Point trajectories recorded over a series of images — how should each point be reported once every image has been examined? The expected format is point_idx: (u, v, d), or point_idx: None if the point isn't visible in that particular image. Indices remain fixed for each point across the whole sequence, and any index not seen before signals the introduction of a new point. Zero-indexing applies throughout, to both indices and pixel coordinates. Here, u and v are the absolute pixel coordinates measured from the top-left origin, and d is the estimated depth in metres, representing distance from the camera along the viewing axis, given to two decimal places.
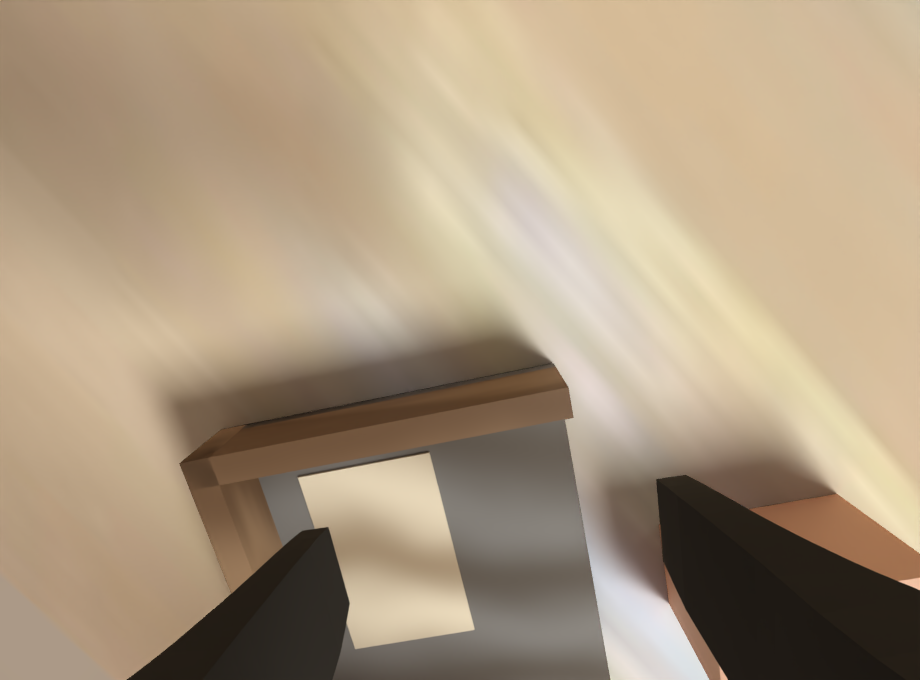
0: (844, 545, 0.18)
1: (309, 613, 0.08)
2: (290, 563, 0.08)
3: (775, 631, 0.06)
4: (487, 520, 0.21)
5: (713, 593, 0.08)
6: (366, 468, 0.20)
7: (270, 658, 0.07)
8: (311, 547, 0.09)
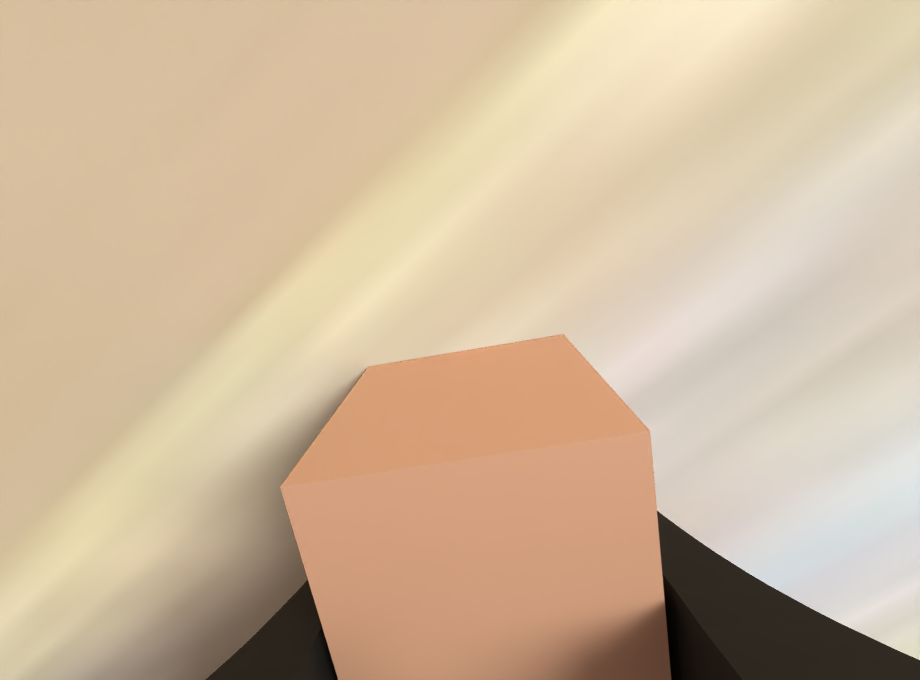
0: None
1: None
2: None
3: (677, 643, 0.06)
4: None
5: None
6: None
7: None
8: None
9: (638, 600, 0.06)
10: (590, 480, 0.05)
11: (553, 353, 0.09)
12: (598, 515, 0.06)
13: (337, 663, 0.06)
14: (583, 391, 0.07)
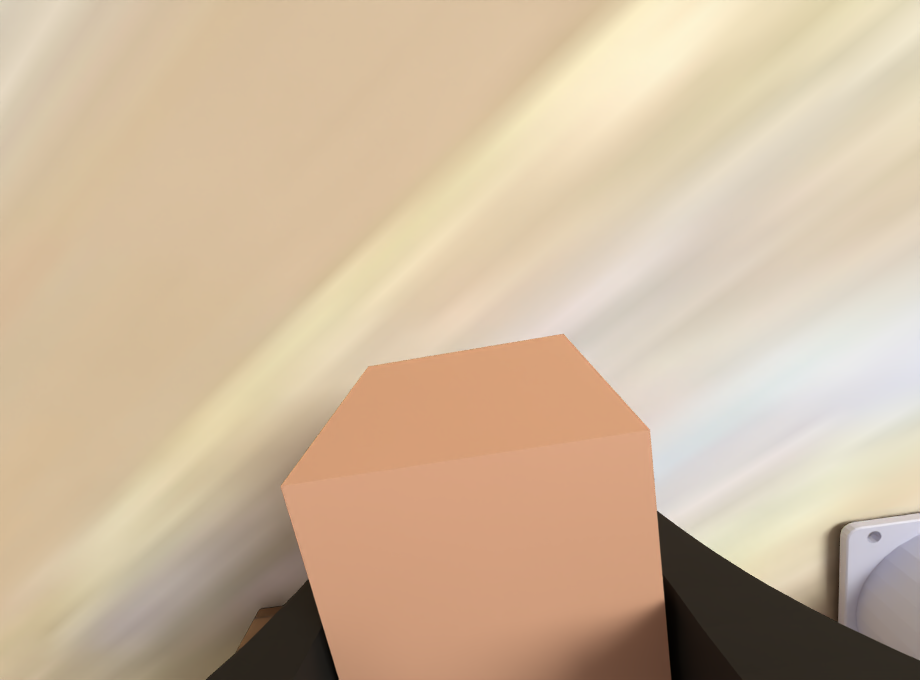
0: None
1: None
2: None
3: (678, 643, 0.06)
4: None
5: None
6: None
7: None
8: None
9: (638, 599, 0.06)
10: (589, 479, 0.05)
11: (553, 352, 0.09)
12: (599, 514, 0.06)
13: (338, 662, 0.06)
14: (583, 390, 0.07)
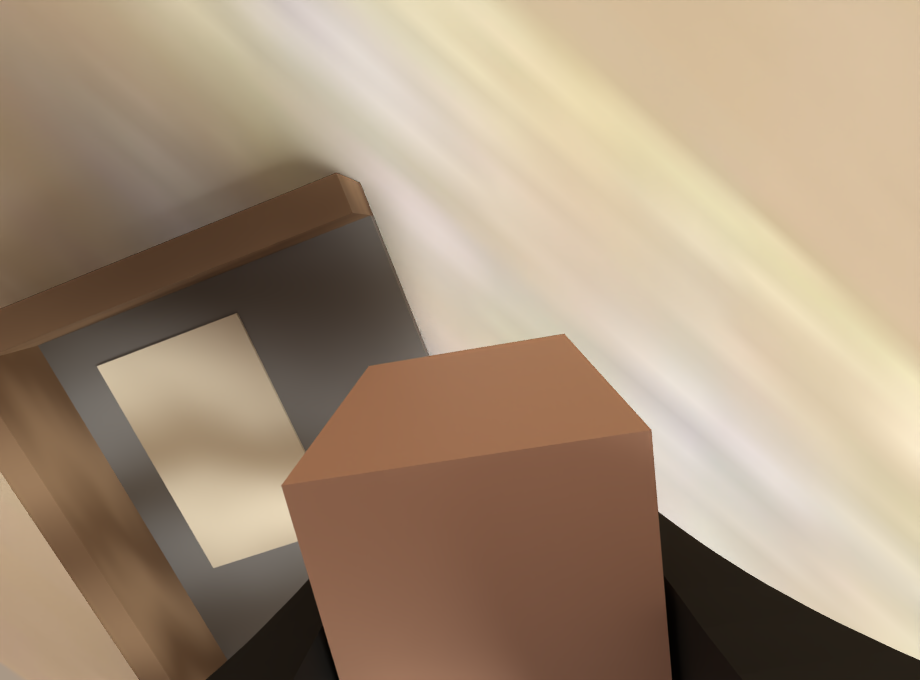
0: None
1: None
2: None
3: (677, 643, 0.06)
4: (324, 389, 0.17)
5: None
6: (170, 343, 0.17)
7: None
8: None
9: (639, 599, 0.06)
10: (591, 480, 0.05)
11: (554, 352, 0.09)
12: (600, 514, 0.06)
13: (338, 661, 0.06)
14: (584, 390, 0.07)
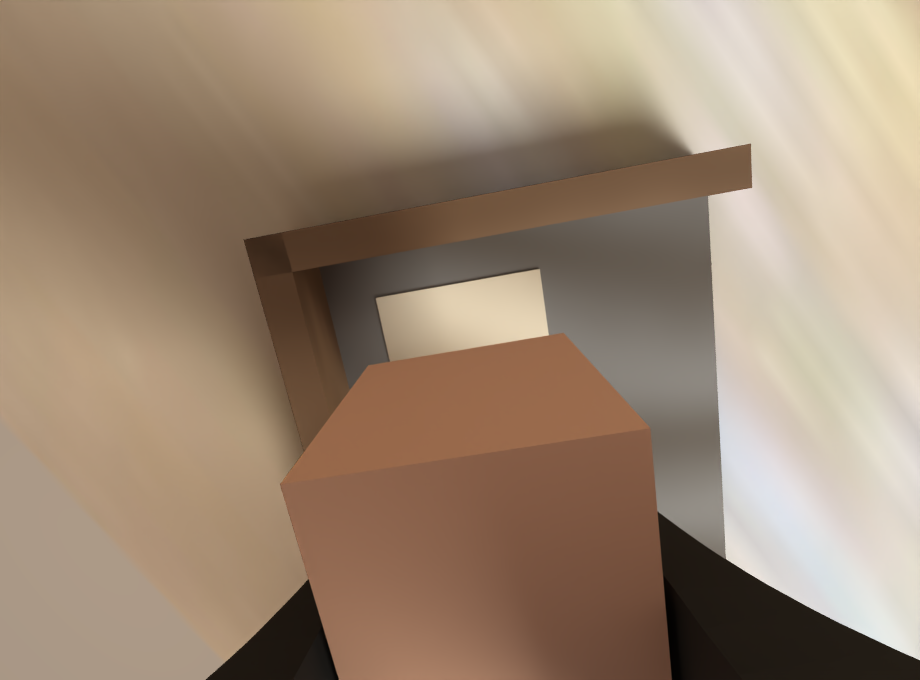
0: None
1: None
2: None
3: (678, 643, 0.06)
4: (601, 362, 0.17)
5: None
6: (460, 288, 0.16)
7: None
8: None
9: (639, 597, 0.06)
10: (591, 478, 0.05)
11: (553, 351, 0.09)
12: (600, 512, 0.06)
13: (338, 661, 0.06)
14: (583, 389, 0.07)
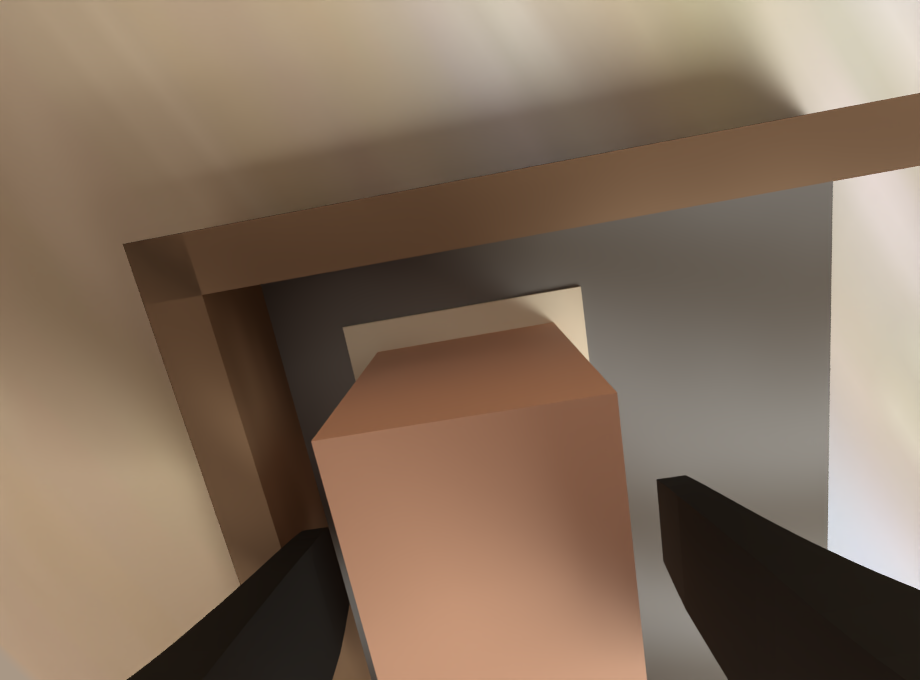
0: None
1: (309, 613, 0.08)
2: (290, 563, 0.08)
3: (775, 631, 0.06)
4: (665, 418, 0.12)
5: (713, 592, 0.08)
6: (465, 313, 0.11)
7: (270, 658, 0.07)
8: (311, 547, 0.09)
9: (610, 537, 0.07)
10: (568, 434, 0.07)
11: (543, 337, 0.10)
12: (576, 465, 0.07)
13: (357, 595, 0.07)
14: (566, 365, 0.08)
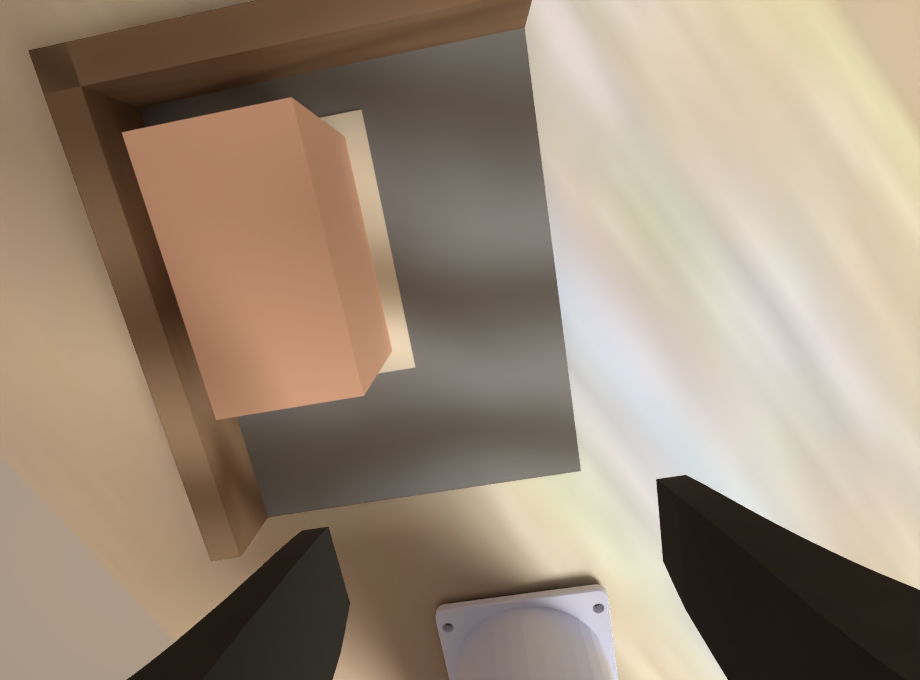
0: None
1: (309, 613, 0.08)
2: (290, 563, 0.08)
3: (775, 631, 0.06)
4: (432, 212, 0.17)
5: (713, 593, 0.08)
6: None
7: (270, 658, 0.07)
8: (311, 547, 0.09)
9: (302, 196, 0.12)
10: (268, 126, 0.11)
11: None
12: (275, 146, 0.12)
13: (161, 245, 0.12)
14: None
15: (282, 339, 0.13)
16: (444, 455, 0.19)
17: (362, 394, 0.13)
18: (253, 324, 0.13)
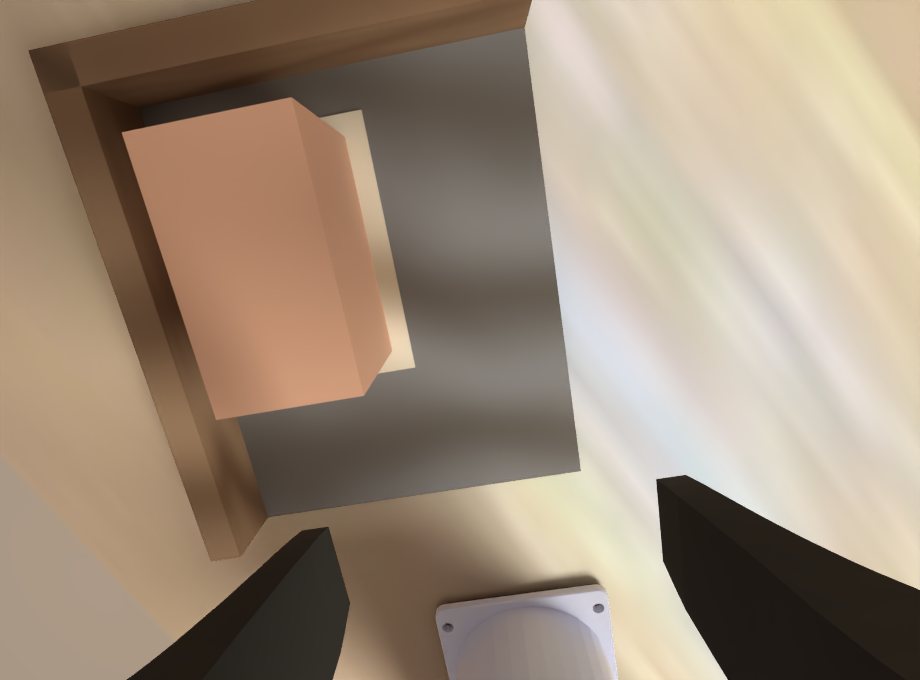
0: None
1: (309, 613, 0.08)
2: (290, 563, 0.08)
3: (775, 631, 0.06)
4: (432, 212, 0.17)
5: (713, 593, 0.08)
6: None
7: (270, 658, 0.07)
8: (311, 547, 0.09)
9: (302, 196, 0.12)
10: (268, 126, 0.11)
11: None
12: (275, 146, 0.12)
13: (161, 245, 0.12)
14: None
15: (282, 339, 0.13)
16: (444, 455, 0.19)
17: (362, 394, 0.13)
18: (253, 324, 0.13)
